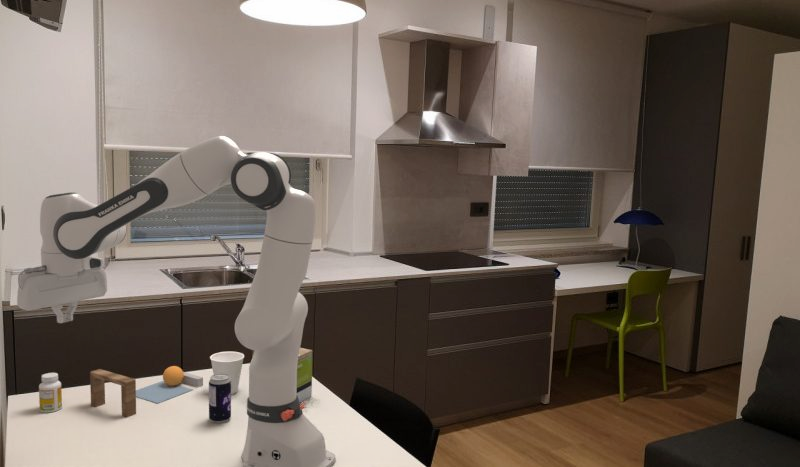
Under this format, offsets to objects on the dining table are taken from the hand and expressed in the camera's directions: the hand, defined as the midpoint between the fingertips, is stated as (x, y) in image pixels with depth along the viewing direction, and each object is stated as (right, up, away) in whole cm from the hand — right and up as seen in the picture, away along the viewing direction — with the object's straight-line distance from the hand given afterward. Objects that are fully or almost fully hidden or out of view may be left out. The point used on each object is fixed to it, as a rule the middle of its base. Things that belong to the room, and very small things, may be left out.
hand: (65, 321), depth 151 cm
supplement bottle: (-18, -28, +27) cm, 42 cm away
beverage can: (+30, -30, +23) cm, 48 cm away
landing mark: (+7, -27, +42) cm, 50 cm away
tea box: (+43, -28, +41) cm, 66 cm away
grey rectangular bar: (+12, -26, +50) cm, 58 cm away
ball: (+9, -23, +47) cm, 53 cm away
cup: (+26, -27, +43) cm, 57 cm away
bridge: (-1, -28, +28) cm, 39 cm away
